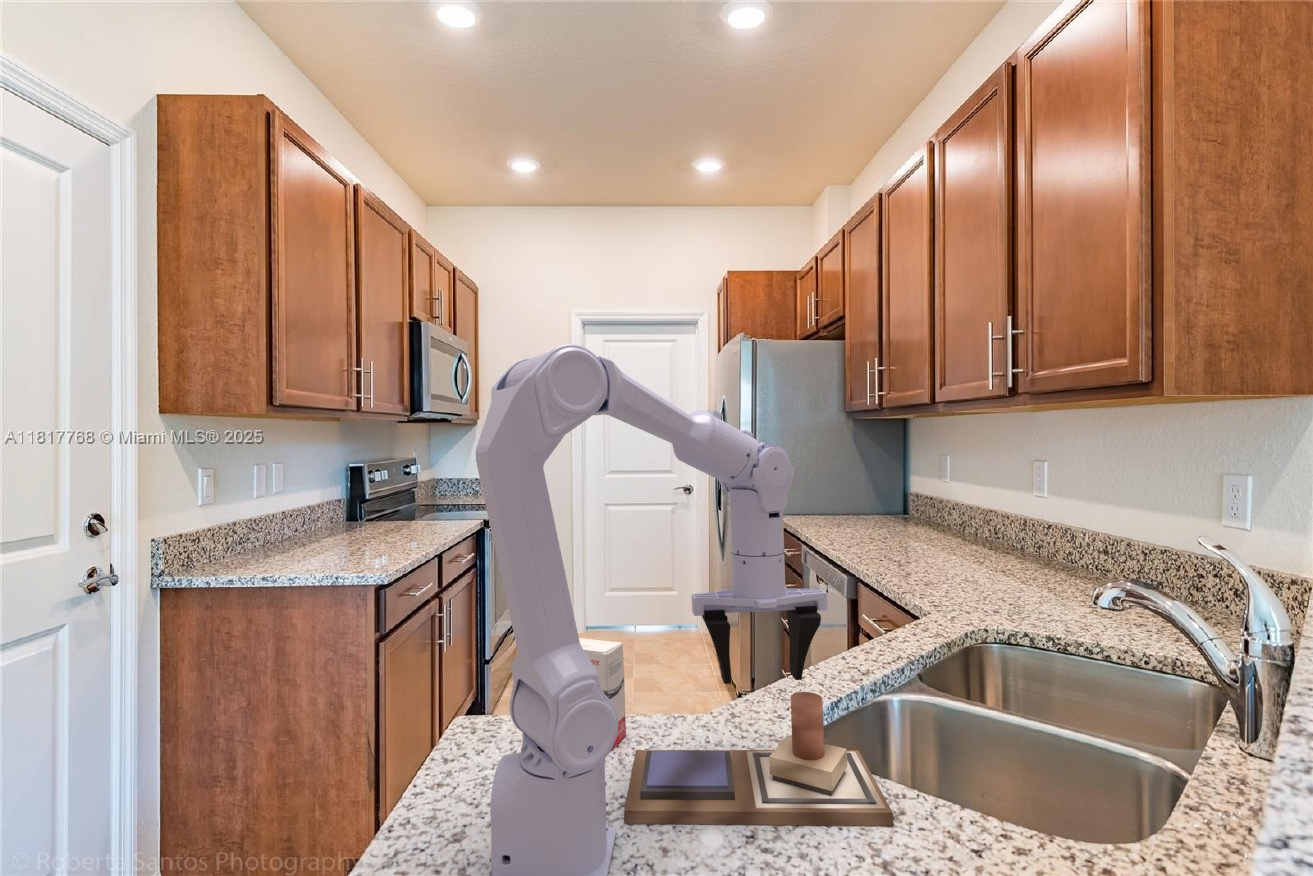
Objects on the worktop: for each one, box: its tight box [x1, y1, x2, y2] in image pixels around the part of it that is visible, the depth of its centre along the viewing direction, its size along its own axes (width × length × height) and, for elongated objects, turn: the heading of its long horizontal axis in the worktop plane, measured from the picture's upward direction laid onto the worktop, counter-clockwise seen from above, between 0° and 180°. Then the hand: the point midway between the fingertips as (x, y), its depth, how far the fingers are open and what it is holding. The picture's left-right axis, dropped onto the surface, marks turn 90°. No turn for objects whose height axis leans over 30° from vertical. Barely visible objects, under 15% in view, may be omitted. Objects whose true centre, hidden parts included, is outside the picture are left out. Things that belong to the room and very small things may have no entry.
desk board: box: [623, 749, 894, 827], centre depth 64 cm, size 25×12×2 cm, turn 87°
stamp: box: [769, 691, 847, 796], centre depth 64 cm, size 6×5×8 cm
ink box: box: [579, 637, 627, 751], centre depth 76 cm, size 8×5×12 cm, turn 66°
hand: (761, 678), depth 67 cm, fingers open, 7 cm apart
